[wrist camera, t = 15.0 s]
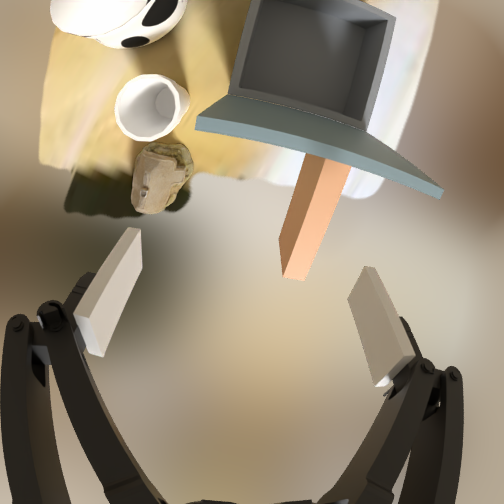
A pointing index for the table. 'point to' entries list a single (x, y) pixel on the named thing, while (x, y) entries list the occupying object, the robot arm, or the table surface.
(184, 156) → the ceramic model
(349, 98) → the carton
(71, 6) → the milk container
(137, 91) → the foam cup
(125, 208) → the table surface
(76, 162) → the table surface
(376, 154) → the lid flap
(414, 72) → the table surface
